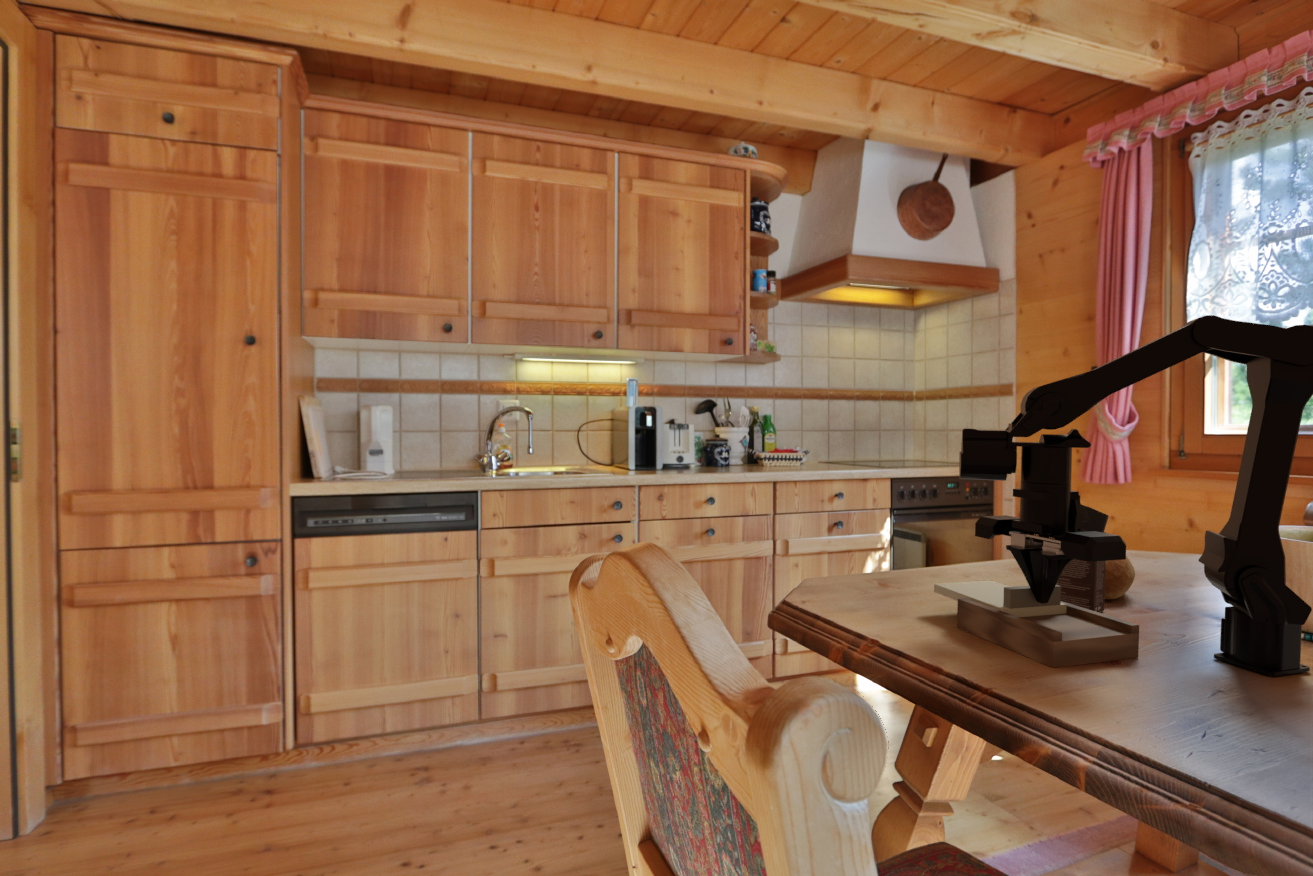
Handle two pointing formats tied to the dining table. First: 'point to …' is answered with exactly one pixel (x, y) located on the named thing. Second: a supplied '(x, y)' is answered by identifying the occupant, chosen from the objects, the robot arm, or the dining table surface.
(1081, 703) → the dining table surface
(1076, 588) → the box
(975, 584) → the cover plate
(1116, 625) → the walnut box
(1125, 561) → the bread roll
